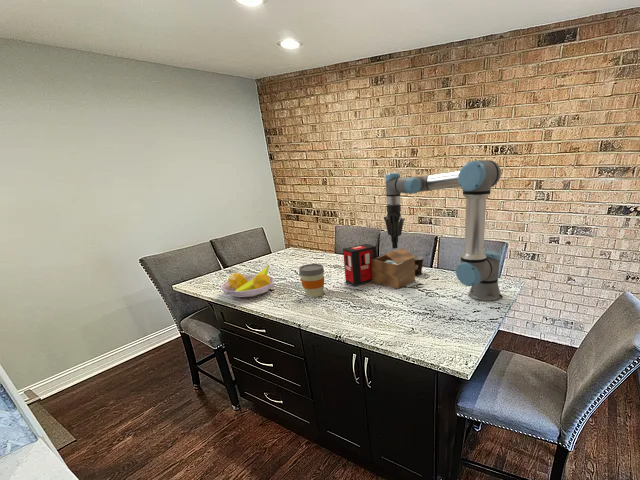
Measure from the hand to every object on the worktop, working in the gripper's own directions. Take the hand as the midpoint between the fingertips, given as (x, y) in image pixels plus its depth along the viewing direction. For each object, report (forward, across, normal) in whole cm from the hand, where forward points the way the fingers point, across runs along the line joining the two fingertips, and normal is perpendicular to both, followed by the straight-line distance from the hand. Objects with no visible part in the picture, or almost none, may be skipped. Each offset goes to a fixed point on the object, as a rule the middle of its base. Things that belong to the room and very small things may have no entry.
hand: (394, 248), depth 187 cm
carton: (+20, +2, 0) cm, 20 cm away
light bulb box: (+20, +2, 0) cm, 20 cm away
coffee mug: (+20, +1, -19) cm, 28 cm away
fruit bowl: (+20, +54, +58) cm, 82 cm away
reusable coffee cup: (+20, +24, +40) cm, 51 cm away
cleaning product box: (+20, +18, +10) cm, 29 cm away
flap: (+4, -4, 0) cm, 5 cm away
